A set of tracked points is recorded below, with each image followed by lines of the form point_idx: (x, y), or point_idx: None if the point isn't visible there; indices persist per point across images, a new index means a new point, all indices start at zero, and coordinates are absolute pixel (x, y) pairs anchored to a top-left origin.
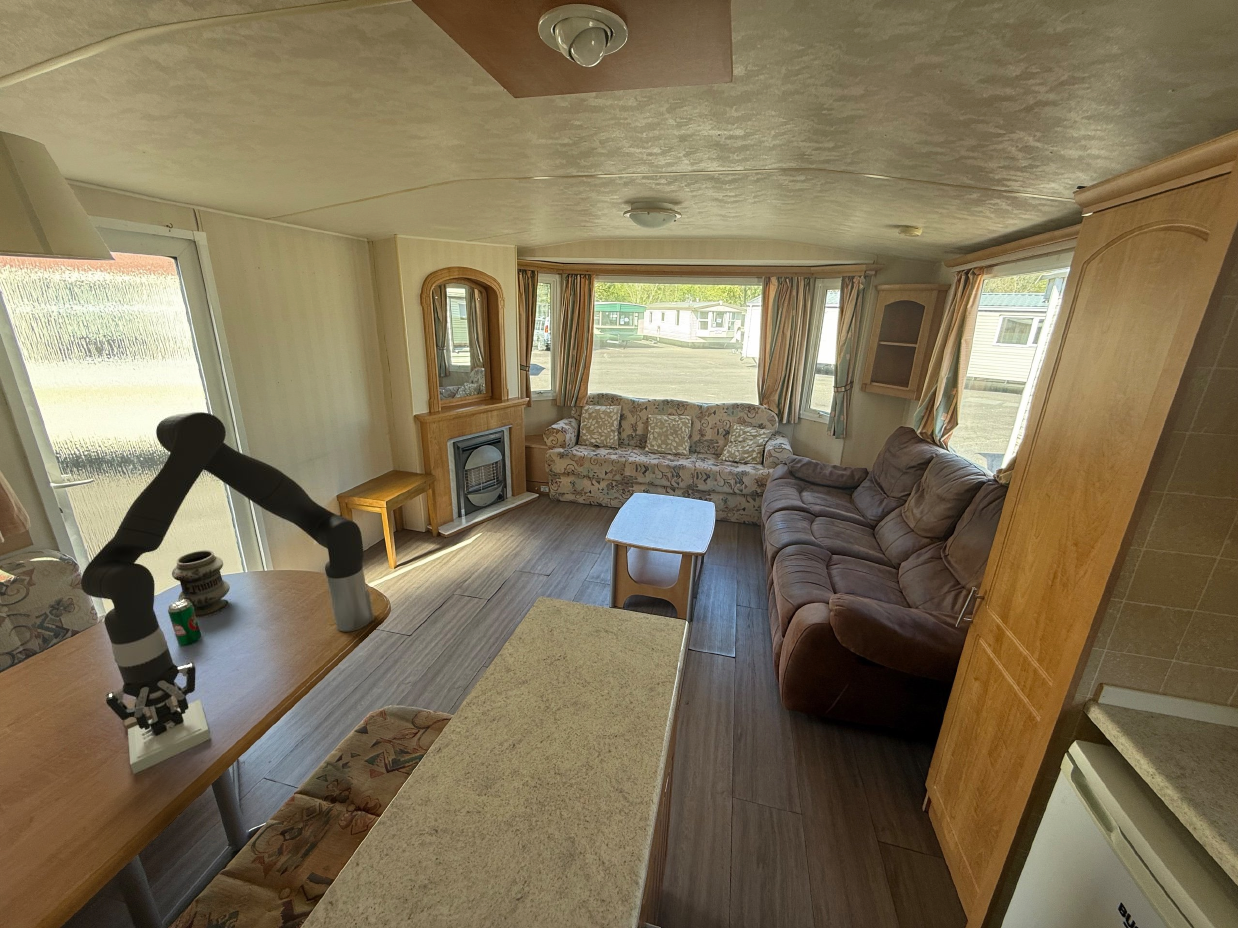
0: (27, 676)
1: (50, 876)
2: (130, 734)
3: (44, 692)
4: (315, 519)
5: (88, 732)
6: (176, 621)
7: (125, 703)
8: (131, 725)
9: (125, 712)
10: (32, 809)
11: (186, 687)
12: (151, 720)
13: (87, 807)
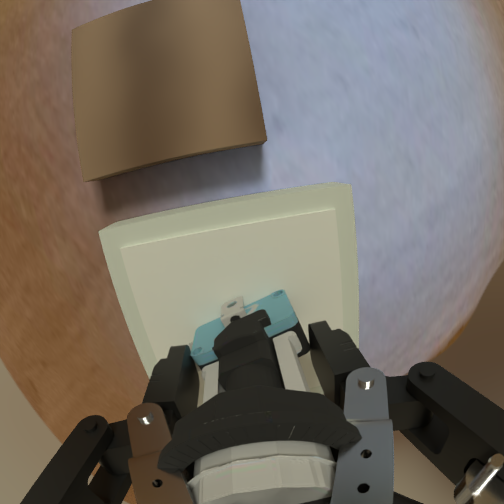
0: None
1: (133, 489)
2: (116, 274)
3: None
4: None
5: (14, 114)
6: None
7: (77, 32)
8: (103, 176)
9: (124, 491)
10: (18, 360)
11: (409, 417)
12: (204, 377)
13: (114, 422)
